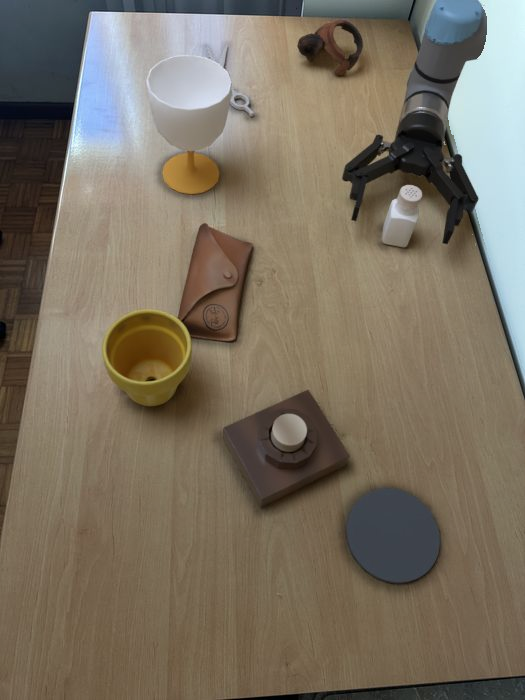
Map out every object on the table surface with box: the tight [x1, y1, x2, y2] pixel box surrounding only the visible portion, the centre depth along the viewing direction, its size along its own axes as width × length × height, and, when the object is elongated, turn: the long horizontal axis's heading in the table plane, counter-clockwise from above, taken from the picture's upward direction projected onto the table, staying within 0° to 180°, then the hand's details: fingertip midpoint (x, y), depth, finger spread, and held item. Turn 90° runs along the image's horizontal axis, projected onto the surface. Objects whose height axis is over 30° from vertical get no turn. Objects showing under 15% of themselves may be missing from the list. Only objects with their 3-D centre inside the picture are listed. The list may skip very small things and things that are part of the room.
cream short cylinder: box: [271, 414, 307, 452], centre depth 77 cm, size 4×4×2 cm
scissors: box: [205, 42, 255, 118], centre depth 117 cm, size 11×1×20 cm
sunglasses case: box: [177, 222, 254, 343], centre depth 93 cm, size 18×7×7 cm, turn 174°
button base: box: [221, 389, 351, 508], centre depth 80 cm, size 12×10×5 cm
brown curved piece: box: [296, 19, 364, 76], centre depth 120 cm, size 12×10×8 cm
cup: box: [145, 54, 233, 195], centre depth 98 cm, size 12×12×17 cm
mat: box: [345, 487, 441, 585], centre depth 77 cm, size 11×11×1 cm
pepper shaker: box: [381, 184, 423, 248], centre depth 98 cm, size 4×4×10 cm
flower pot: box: [101, 308, 193, 407], centre depth 81 cm, size 10×10×10 cm
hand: (401, 226), depth 95 cm, fingers open, 13 cm apart
